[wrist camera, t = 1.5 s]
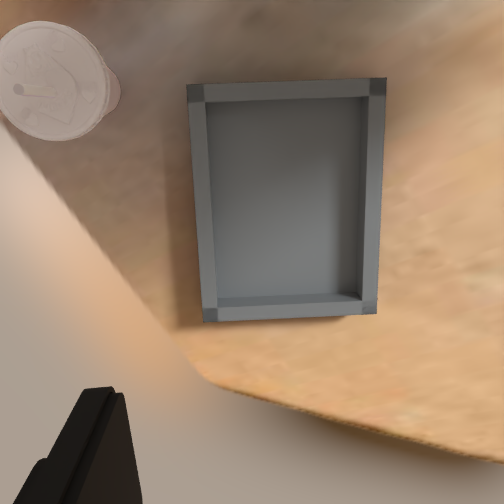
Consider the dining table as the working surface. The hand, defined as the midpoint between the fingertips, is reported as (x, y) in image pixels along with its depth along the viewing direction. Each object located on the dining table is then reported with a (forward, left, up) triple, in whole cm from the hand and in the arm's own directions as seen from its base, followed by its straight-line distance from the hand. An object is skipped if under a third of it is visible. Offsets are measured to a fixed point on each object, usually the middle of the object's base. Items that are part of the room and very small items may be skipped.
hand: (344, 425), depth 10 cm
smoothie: (-8, -12, -30) cm, 33 cm away
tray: (+1, +2, -29) cm, 29 cm away
